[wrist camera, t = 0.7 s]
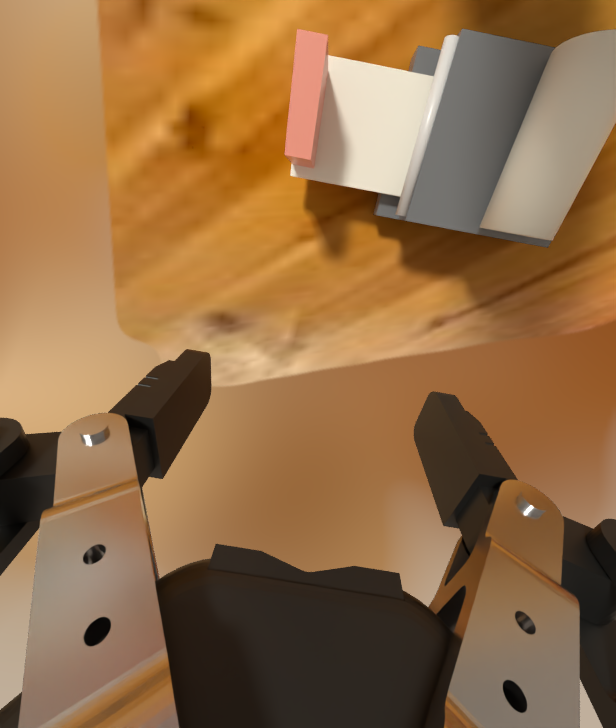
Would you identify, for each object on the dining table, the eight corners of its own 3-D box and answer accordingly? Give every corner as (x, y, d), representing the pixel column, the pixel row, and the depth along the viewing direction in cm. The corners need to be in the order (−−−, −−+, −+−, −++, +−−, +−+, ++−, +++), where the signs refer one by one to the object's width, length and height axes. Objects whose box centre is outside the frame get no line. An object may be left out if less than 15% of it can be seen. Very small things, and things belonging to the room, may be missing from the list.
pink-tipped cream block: (305, 54, 21) (297, 8, 16) (568, 107, 22) (638, 77, 17) (291, 176, 25) (281, 168, 20) (516, 219, 25) (561, 221, 20)
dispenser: (411, 58, 22) (455, -22, 15) (584, 93, 23) (719, 32, 15) (373, 214, 28) (390, 217, 20) (513, 241, 28) (585, 254, 20)
